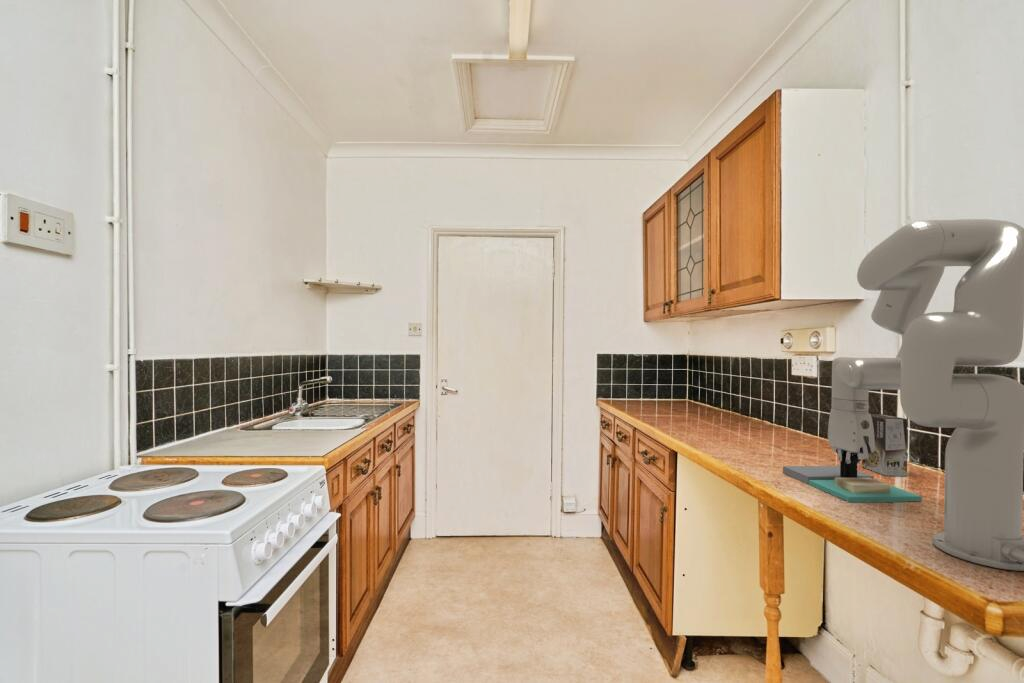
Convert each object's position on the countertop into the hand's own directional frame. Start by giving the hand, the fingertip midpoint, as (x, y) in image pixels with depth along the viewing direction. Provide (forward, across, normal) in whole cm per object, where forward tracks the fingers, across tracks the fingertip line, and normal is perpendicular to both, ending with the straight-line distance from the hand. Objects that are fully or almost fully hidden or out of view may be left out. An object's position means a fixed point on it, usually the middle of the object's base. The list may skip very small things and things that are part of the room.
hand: (848, 477), depth 115 cm
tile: (+2, -4, 0) cm, 4 cm away
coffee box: (+3, +15, -23) cm, 27 cm away
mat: (+3, -3, -1) cm, 4 cm away
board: (+3, +9, -1) cm, 9 cm away
